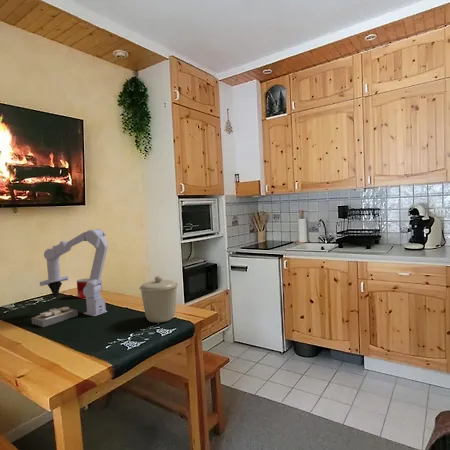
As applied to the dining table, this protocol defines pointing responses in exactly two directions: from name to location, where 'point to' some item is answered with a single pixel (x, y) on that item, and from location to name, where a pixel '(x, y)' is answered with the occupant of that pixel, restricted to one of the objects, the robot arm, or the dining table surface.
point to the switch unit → (54, 317)
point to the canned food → (81, 287)
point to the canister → (159, 299)
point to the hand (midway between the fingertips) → (55, 296)
